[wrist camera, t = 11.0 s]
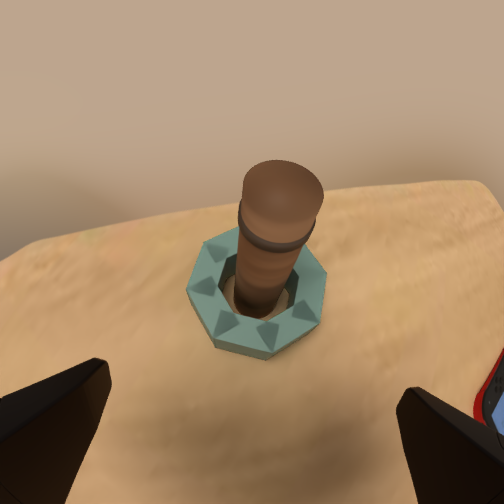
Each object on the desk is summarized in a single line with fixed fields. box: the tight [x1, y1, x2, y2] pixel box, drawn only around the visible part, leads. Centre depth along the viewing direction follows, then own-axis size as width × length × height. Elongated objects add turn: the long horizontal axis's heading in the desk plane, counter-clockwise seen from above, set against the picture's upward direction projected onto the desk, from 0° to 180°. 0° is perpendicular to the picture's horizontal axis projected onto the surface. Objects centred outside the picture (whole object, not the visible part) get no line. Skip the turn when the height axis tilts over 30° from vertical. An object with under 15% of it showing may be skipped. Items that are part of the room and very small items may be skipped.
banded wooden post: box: [234, 160, 324, 319], centre depth 17 cm, size 4×4×13 cm
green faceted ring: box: [186, 226, 327, 360], centre depth 21 cm, size 10×10×4 cm
